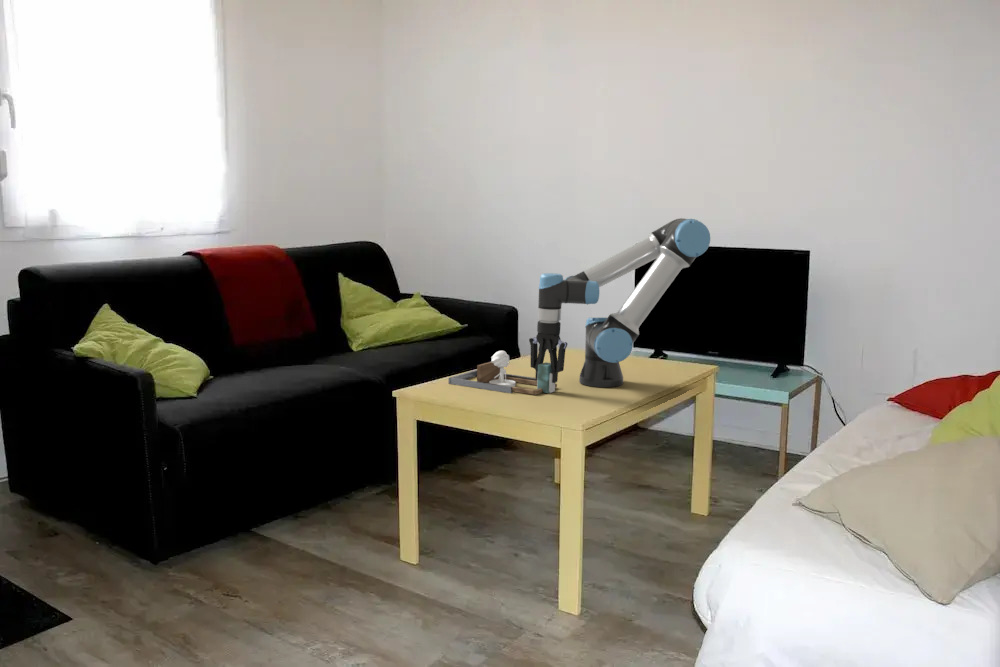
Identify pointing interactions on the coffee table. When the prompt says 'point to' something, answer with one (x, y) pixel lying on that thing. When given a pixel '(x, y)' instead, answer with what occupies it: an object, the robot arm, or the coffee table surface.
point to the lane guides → (501, 388)
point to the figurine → (501, 369)
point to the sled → (489, 371)
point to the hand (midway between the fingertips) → (545, 390)
